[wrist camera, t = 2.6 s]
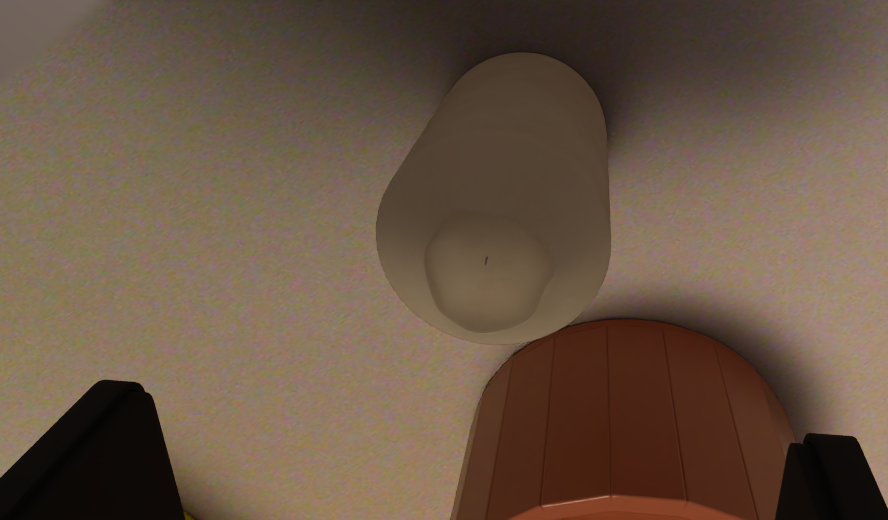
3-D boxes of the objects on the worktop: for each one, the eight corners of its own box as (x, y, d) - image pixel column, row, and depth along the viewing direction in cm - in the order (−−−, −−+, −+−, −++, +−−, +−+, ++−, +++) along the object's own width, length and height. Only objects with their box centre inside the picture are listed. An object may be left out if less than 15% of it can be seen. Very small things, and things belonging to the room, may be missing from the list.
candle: (420, 70, 25) (325, 181, 16) (590, 31, 24) (586, 128, 15) (462, 222, 27) (398, 391, 18) (619, 195, 26) (631, 365, 17)
